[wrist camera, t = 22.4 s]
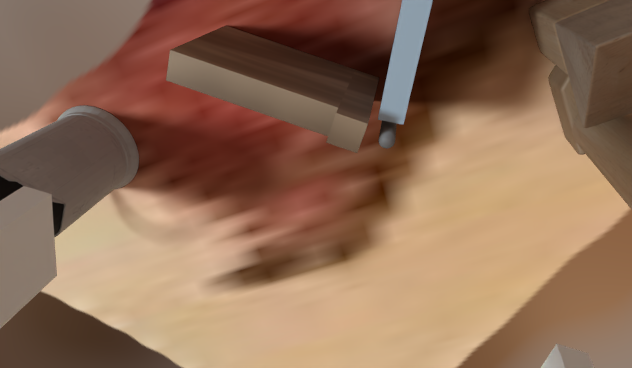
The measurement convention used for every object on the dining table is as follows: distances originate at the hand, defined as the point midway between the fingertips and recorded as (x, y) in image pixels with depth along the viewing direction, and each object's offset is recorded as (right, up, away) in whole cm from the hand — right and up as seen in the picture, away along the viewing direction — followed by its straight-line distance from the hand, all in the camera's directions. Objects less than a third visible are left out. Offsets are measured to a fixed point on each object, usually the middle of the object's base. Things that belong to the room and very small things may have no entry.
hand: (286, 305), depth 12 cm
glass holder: (-22, +5, +35) cm, 41 cm away
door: (+7, +17, +22) cm, 29 cm away
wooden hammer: (+20, +12, +23) cm, 32 cm away
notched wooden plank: (0, +13, +26) cm, 29 cm away
